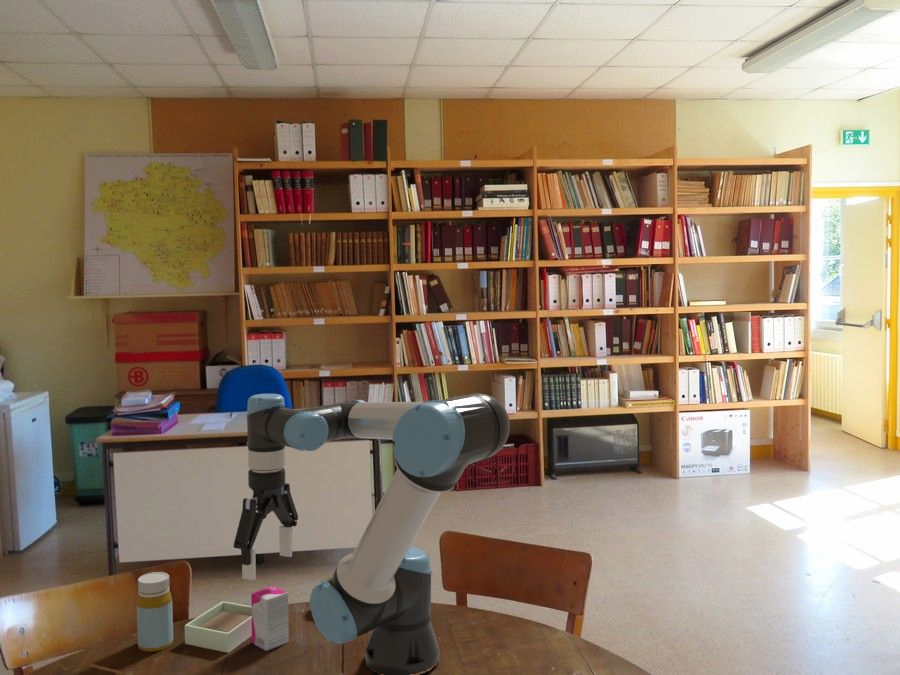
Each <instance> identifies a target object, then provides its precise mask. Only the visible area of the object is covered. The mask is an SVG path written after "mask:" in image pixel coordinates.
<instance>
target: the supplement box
mask: <svg viewBox="0 0 900 675" xmlns="http://www.w3.org/2000/svg"><path fill="white" fill-rule="evenodd" d="M250 596H251V602H250V603H251V606H252V636H251V644H252V645H253V646H255V647H257V648H259V649H261V650H262V651H264V652H269V651H271V650H274V649H277V648H279V647H281V646H283V645H286V644H288V643H289V592H287V591H285V590H283V589H280V588H278V587H277V586H274V585H272V586H269V587H266V588H263V589H259V590H257V591H253V592H251V595H250Z"/></svg>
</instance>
